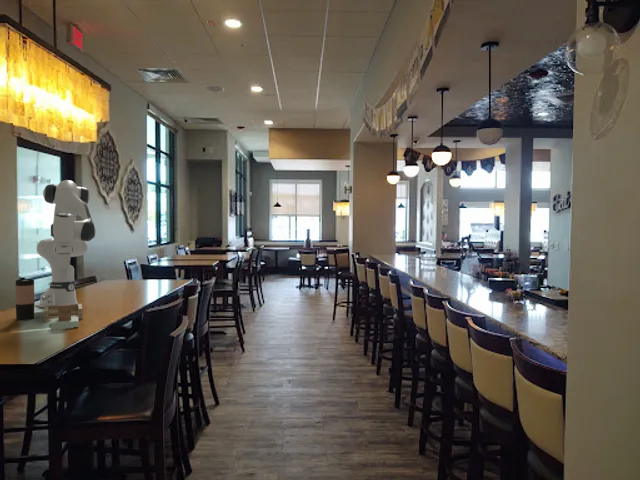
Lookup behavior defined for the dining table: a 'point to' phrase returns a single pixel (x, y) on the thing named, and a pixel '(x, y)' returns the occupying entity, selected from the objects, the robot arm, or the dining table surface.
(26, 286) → the travel mug
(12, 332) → the dining table surface
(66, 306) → the walnut block
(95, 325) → the dining table surface
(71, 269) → the robot arm
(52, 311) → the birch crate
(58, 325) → the sage stand
